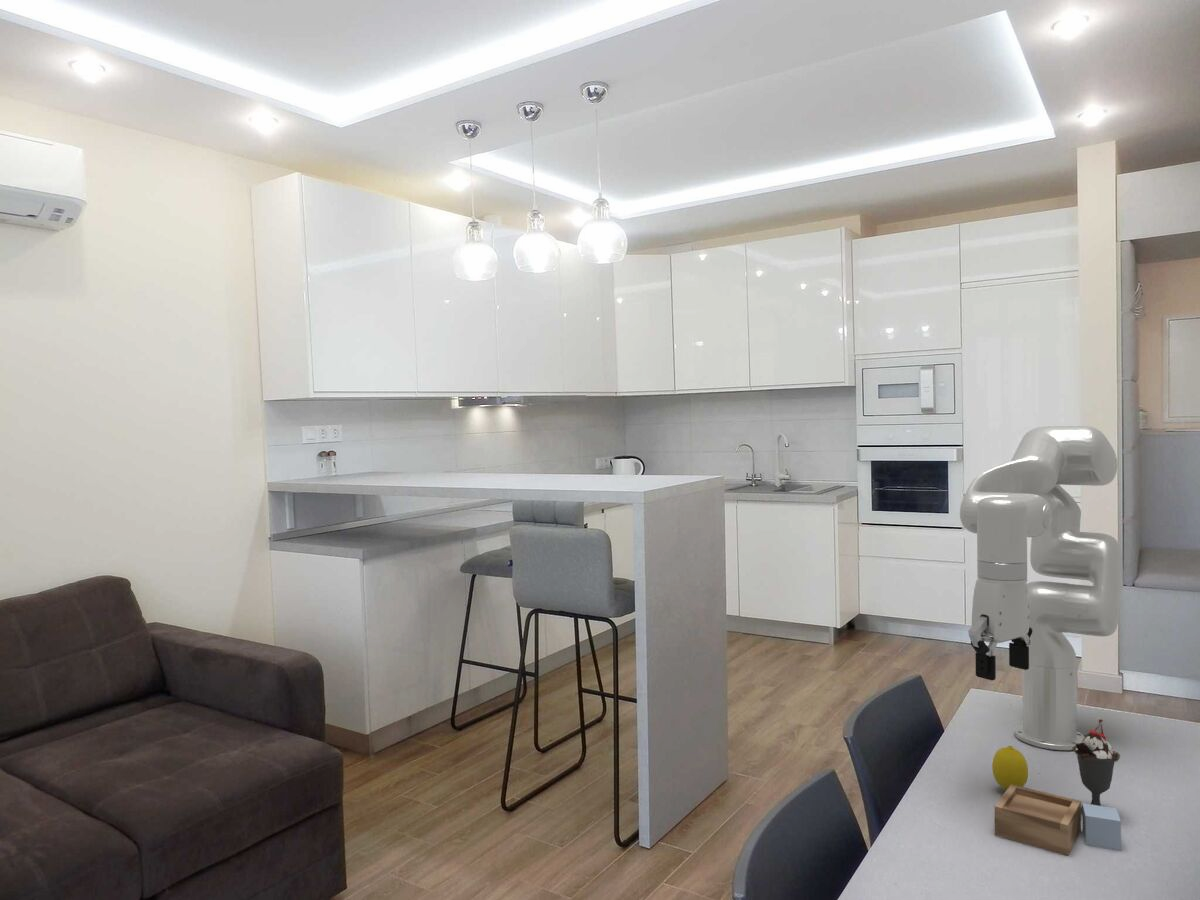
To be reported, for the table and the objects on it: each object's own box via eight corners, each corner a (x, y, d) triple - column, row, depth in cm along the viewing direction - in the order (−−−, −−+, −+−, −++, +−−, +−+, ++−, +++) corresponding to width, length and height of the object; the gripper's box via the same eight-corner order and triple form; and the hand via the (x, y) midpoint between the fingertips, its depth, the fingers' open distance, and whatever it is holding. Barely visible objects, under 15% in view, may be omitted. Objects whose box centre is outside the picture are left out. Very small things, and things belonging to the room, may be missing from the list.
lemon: (1032, 800, 139) (1032, 753, 138) (997, 798, 140) (996, 751, 140) (1022, 786, 144) (1022, 741, 144) (988, 784, 145) (988, 739, 145)
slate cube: (1082, 831, 128) (1082, 803, 128) (1116, 837, 126) (1116, 808, 126) (1085, 845, 124) (1085, 815, 124) (1120, 851, 122) (1120, 821, 122)
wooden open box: (1011, 811, 135) (1011, 784, 135) (1081, 829, 128) (1081, 801, 128) (994, 835, 127) (994, 806, 127) (1068, 855, 121) (1067, 825, 121)
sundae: (1113, 807, 136) (1113, 716, 135) (1125, 825, 129) (1124, 731, 129) (1068, 801, 138) (1068, 713, 137) (1077, 820, 131) (1076, 726, 131)
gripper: (1009, 563, 145) (1010, 659, 146) (950, 574, 136) (951, 676, 136) (1052, 568, 139) (1053, 669, 140) (993, 580, 130) (993, 688, 130)
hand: (1002, 672), depth 138 cm, fingers open, 9 cm apart
